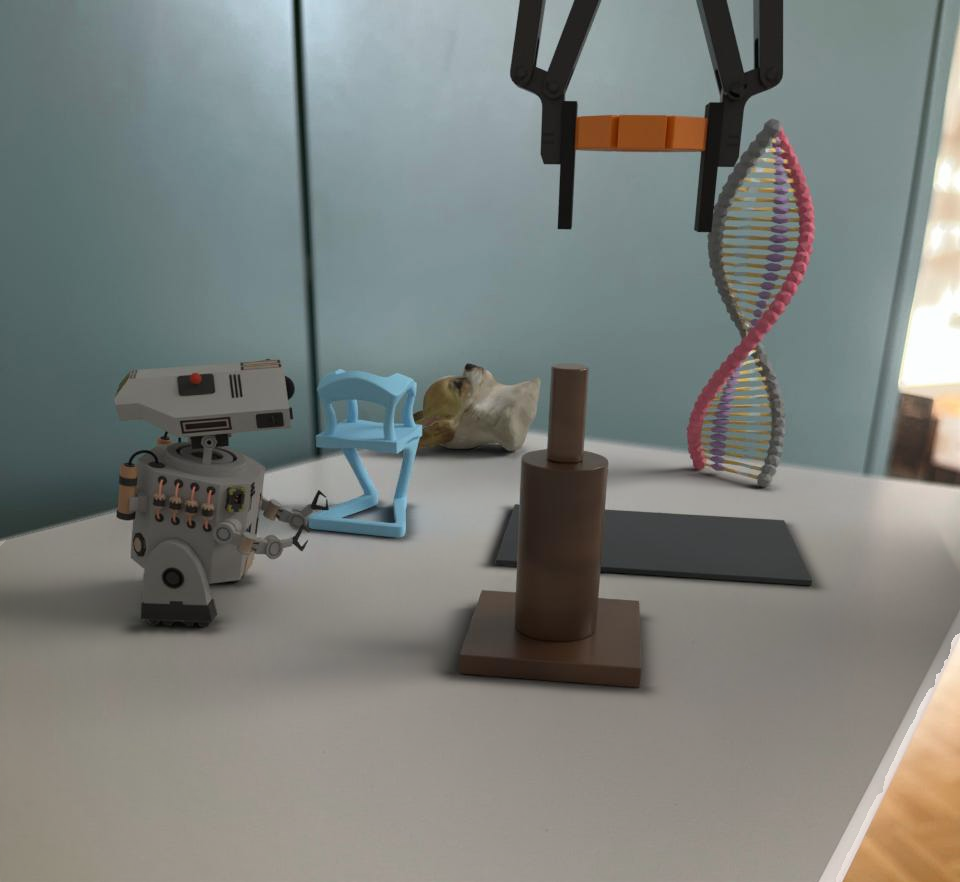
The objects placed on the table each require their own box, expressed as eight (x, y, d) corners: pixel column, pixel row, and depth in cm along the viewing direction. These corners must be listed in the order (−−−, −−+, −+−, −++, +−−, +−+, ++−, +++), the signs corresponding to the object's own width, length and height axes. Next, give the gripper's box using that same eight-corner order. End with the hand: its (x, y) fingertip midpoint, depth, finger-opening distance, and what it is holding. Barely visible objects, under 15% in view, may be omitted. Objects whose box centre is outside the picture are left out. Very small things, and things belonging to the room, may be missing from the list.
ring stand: (637, 617, 66) (662, 355, 59) (640, 687, 56) (669, 387, 50) (481, 606, 67) (488, 348, 60) (458, 673, 58) (463, 378, 51)
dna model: (722, 461, 103) (763, 125, 91) (798, 481, 97) (853, 122, 85) (662, 474, 98) (697, 119, 85) (739, 496, 91) (788, 117, 79)
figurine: (306, 633, 62) (293, 379, 56) (116, 625, 62) (84, 373, 56) (331, 579, 71) (323, 353, 64) (164, 573, 71) (140, 348, 65)
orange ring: (698, 152, 61) (701, 122, 60) (709, 149, 54) (713, 115, 54) (575, 151, 62) (577, 121, 61) (572, 147, 55) (574, 114, 54)
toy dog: (536, 370, 96) (378, 373, 98) (537, 462, 100) (385, 463, 102) (543, 354, 106) (400, 357, 108) (544, 438, 109) (405, 439, 111)
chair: (433, 508, 86) (433, 360, 81) (402, 538, 79) (400, 378, 74) (345, 499, 88) (341, 354, 83) (307, 528, 80) (299, 371, 75)
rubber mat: (783, 524, 84) (784, 519, 84) (811, 585, 72) (812, 580, 71) (514, 508, 87) (514, 503, 86) (495, 564, 74) (495, 559, 74)
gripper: (454, -303, 48) (452, 229, 57) (901, -315, 46) (823, 236, 55) (472, -243, 55) (468, 223, 64) (862, -251, 53) (799, 230, 62)
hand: (633, 229), depth 60 cm, fingers closed on orange ring, 7 cm apart
